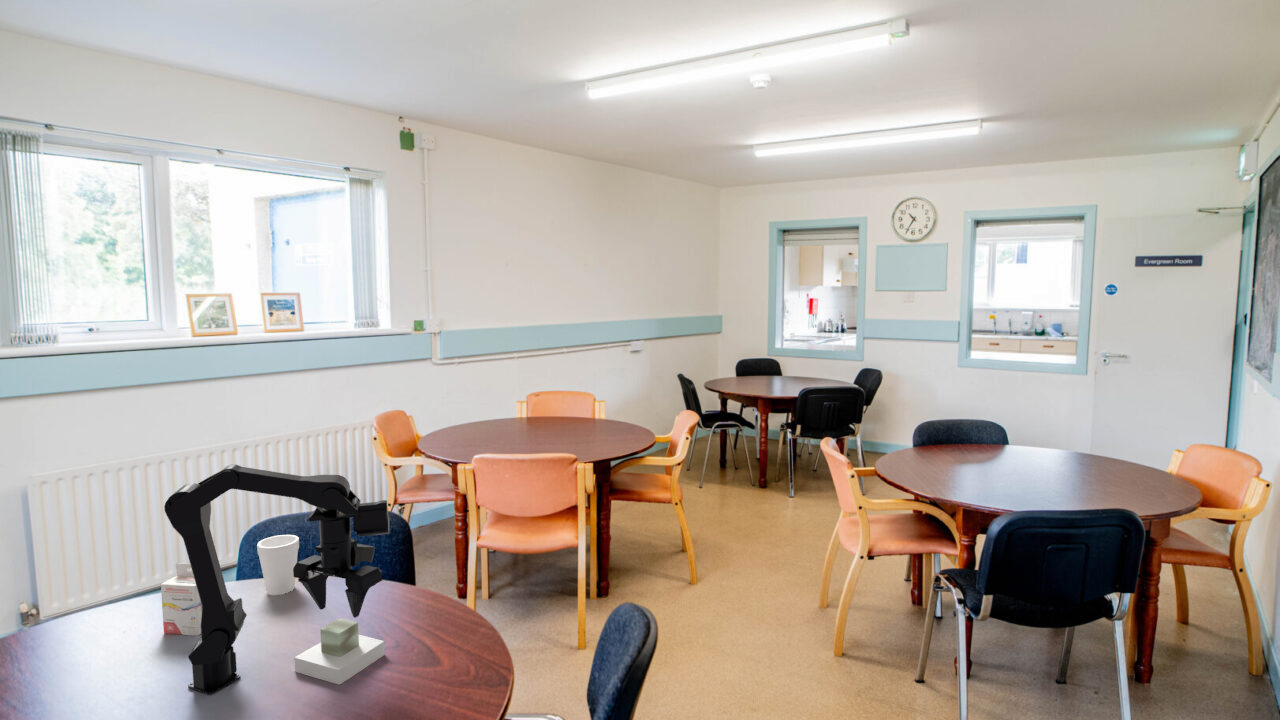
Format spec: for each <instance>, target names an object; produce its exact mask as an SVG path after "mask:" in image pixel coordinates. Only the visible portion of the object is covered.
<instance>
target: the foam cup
mask: <svg viewBox="0 0 1280 720" xmlns="http://www.w3.org/2000/svg"><path fill="white" fill-rule="evenodd" d="M256 549H257V556H258V557H259V562H260V567H261V572H262V576H263V581H264V586H265V591H266V594H267V595H268V596H282V595H286V594H288V592H289V593H291V592H292V591H294V590H295V586H296V577H294V575H293V568H294V566H295V565H296V563H297V562H298V554H299V553H298V552H299V549H300V537H299V536H297V535H295V534H282V535H281V534H280V535H278V534H277V535H273V536H270V537H267V538H264V539H261V540H260V541H258V542H257V545H256ZM293 589H294V590H293ZM290 591H291V592H290ZM285 593H286V594H285Z"/></svg>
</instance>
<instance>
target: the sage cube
mask: <svg viewBox="0 0 1280 720" xmlns="http://www.w3.org/2000/svg"><path fill="white" fill-rule="evenodd" d="M359 635H360V634H359V622H357V621H355V620H349V619H345V618H341V617H339V618H338V619H335V620H334V621H332V622H331V623H329V624H327V625H325V626H323V627H321V628H320V642H321V652H322V653H326V654H329V655H333V656H337V657H341V656H343V655H345V654H346V653H348V652H349V651H351V650H353V649H354V648H356V647H358V646H359Z"/></svg>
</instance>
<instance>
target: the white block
mask: <svg viewBox="0 0 1280 720" xmlns="http://www.w3.org/2000/svg"><path fill="white" fill-rule="evenodd" d="M385 646H386V645H385V640H380V639H377V638H373V637H370V636H367V635H363V634H359V646H358V647H356V648H354V649H353V650H351V651H349V652H348V653H346V654H345V655H343V656H341V657H337V656H333V655H329V654H326V653H322V652H321V641H320V642H319V643H317V644H315V645H313V646H312V647H310V648H309V649H307V650H305V651H303V652H301V653H300V654H298V655H296V656H294V657H293V660H294V672H295V673H299V674H302V675H306V676H309V677H312V678H316V679H319V680H322V681H326V682H329V683H332V684H335V685H341V684H343V683H344V682H346V681H347V680H349V679H351V678H352V677H353V676H355V675H356V674H358V673H360V672H361V671H363V670H364V669H366V668H367V667H369V666H371V665H372V664H373V663H375V662H376V661H378V660H380V659H381V658H382V657H384V656H385V655H386V652H385V651H386V650H385V649H386V647H385Z"/></svg>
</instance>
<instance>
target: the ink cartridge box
mask: <svg viewBox="0 0 1280 720" xmlns="http://www.w3.org/2000/svg"><path fill="white" fill-rule="evenodd" d="M188 569H189V570H188ZM190 569H192V568H191V565H190V563H180V562H179V563H176V564H175V570H176V576H173V577H172V578H170V579H167V580H166V581H164V582H162V583H161V584H160V588H161V589H160V590H161V591H160V592H161V607H162V622H163V623H162V625H163V633H164V634H167V635H182V636H183V635H184V636H199V635H201V617H202V604H201V600H200V597H199V593H198V590H197V586H196V582H195V579H194V575H193V572H192V570H190Z"/></svg>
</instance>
